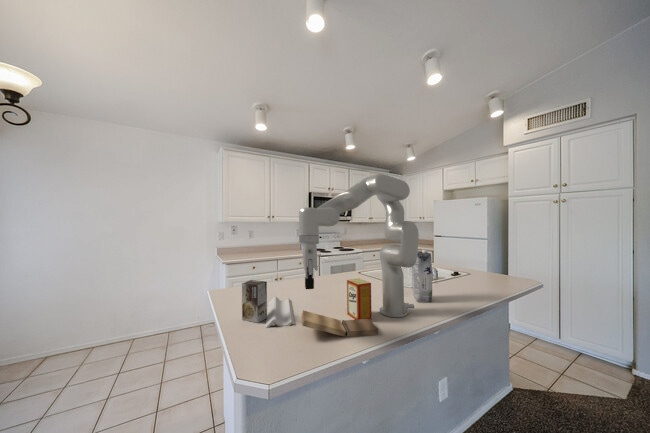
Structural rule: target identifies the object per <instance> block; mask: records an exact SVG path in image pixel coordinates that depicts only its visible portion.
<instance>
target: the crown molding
mask: <svg viewBox="0 0 650 433" xmlns="http://www.w3.org/2000/svg"><path fill="white" fill-rule="evenodd" d="M291 325H296V324H295V318H294V311H293V305H292V299H290V298H289V297H288V298H287V299H286V300H284V301H282V300H280V299H279V297H277V296H274V297H272V298H271V300H270V301H268V302H267V318H266V319H265V328H266V329H267V328H270V327H272V326H277V327H286V326H291Z"/></svg>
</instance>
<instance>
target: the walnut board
mask: <svg viewBox="0 0 650 433" xmlns="http://www.w3.org/2000/svg"><path fill="white" fill-rule="evenodd" d="M341 322H342V324H343V326H344V328H345V330H346V333H345V336H346V338H352V337H367V336H368V337H369V336H378V335H379V330H378V328H377V326H376V325H375V324H374V323H373V322H372V319H359V320H355V319H347V320H346V319H345V320H344V319H342V320H341Z"/></svg>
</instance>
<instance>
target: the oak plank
mask: <svg viewBox="0 0 650 433" xmlns="http://www.w3.org/2000/svg"><path fill="white" fill-rule="evenodd" d="M301 324H302V327H306V328H310V329H314V330H317V331H322V332H325V333H329V334H333V335H337V336H340V337H345V336H346V330H345V328H344V326H343V324H342V320H340V319H337V318H333V317H330V316H326V315H323V314H317V313H315V312H311V311H307V310H302V311H301Z"/></svg>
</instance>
